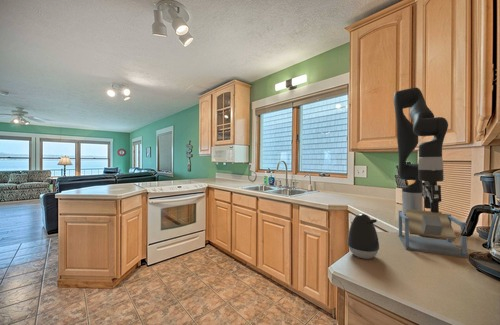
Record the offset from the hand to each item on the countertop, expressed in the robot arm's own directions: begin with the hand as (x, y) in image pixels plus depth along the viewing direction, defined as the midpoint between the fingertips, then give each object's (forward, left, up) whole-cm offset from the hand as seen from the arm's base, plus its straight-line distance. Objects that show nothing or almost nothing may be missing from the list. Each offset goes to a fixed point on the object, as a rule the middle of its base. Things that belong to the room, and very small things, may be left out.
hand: (431, 210), depth 84 cm
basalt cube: (-1, 0, -8) cm, 8 cm away
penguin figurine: (+19, -24, -15) cm, 34 cm away
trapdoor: (-7, 0, -9) cm, 11 cm away
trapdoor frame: (-4, 0, -15) cm, 16 cm away
